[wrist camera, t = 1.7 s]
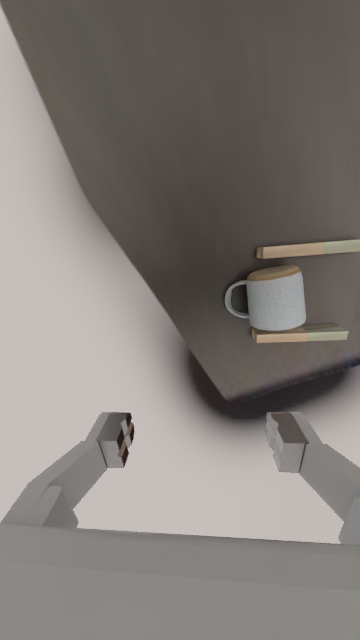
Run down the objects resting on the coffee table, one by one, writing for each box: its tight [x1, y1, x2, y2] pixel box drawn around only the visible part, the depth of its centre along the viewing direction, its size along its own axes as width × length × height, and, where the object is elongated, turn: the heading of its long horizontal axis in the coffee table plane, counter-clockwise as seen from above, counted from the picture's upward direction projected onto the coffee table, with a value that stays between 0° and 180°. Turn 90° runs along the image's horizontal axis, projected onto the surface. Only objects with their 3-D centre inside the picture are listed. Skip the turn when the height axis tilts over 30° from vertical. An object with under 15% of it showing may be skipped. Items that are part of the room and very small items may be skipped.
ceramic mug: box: [225, 265, 306, 331], centre depth 28 cm, size 11×8×8 cm
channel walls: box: [251, 239, 360, 343], centre depth 29 cm, size 15×14×3 cm
